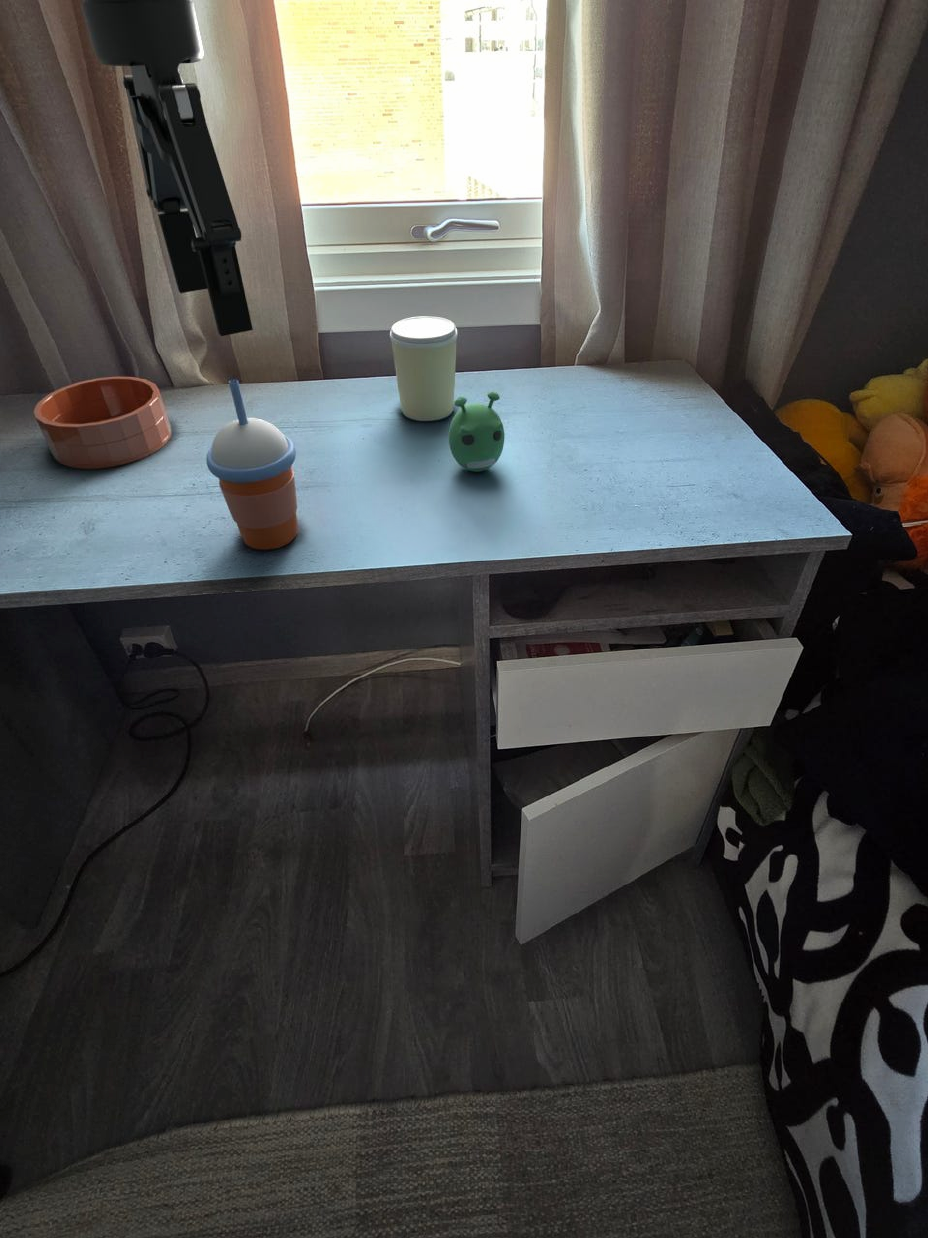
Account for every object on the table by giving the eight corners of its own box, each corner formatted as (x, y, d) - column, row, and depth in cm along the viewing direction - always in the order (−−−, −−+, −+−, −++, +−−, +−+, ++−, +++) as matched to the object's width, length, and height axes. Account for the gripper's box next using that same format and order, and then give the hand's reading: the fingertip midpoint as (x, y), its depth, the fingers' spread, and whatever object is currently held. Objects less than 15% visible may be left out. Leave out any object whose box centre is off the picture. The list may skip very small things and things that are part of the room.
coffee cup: (429, 390, 107) (425, 310, 99) (471, 408, 102) (471, 325, 94) (383, 410, 102) (375, 327, 94) (425, 430, 97) (421, 344, 89)
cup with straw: (325, 536, 78) (298, 382, 66) (253, 569, 74) (209, 410, 62) (286, 504, 83) (254, 356, 71) (216, 532, 79) (169, 379, 67)
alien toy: (459, 488, 86) (457, 412, 79) (443, 459, 91) (441, 386, 84) (512, 480, 87) (515, 404, 80) (494, 451, 92) (495, 379, 86)
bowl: (61, 480, 88) (41, 437, 84) (46, 432, 98) (28, 392, 94) (183, 449, 94) (170, 407, 90) (157, 407, 104) (145, 368, 100)
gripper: (242, -15, 41) (302, 343, 55) (151, -7, 57) (215, 269, 71) (110, -14, 38) (209, 363, 53) (53, -6, 55) (141, 281, 69)
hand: (213, 309), depth 62 cm, fingers open, 13 cm apart
